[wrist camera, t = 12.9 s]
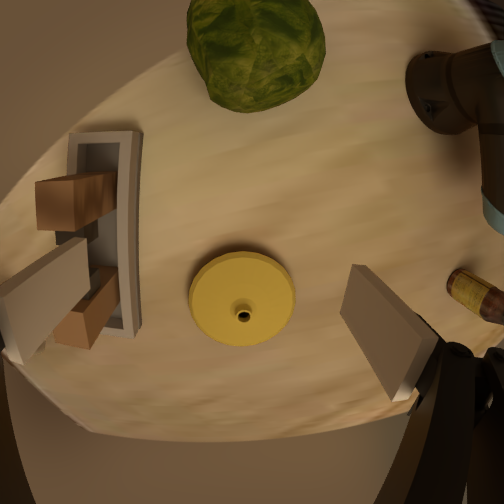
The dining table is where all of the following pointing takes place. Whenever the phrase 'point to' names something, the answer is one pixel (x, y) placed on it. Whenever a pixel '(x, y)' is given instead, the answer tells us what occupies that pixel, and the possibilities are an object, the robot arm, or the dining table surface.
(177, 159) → the dining table surface
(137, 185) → the brown blocky pieces
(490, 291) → the sauce bottle
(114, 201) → the brown tall block
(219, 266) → the yellow curved piece
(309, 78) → the lettuce
